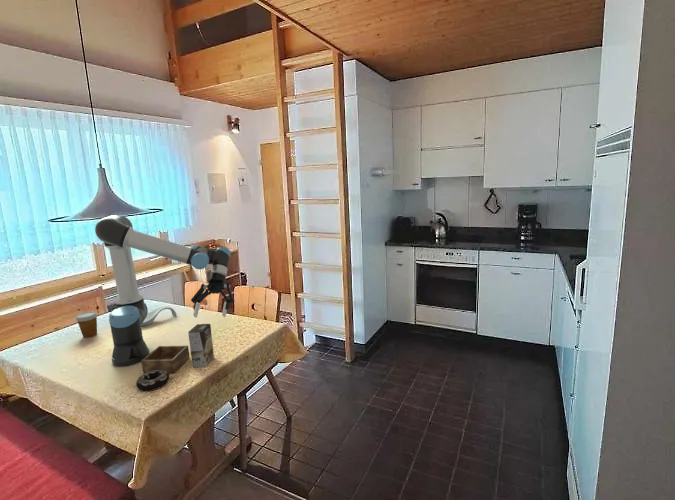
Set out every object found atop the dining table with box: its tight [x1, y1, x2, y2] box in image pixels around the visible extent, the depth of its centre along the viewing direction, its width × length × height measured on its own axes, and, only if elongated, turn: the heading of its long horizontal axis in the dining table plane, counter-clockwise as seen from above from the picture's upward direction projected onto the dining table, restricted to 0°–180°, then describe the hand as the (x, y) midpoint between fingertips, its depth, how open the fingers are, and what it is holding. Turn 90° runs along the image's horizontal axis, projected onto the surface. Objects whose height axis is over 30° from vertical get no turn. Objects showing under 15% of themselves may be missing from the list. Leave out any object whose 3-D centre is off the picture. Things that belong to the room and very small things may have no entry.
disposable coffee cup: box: [75, 311, 98, 339], centre depth 195 cm, size 10×10×12 cm
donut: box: [135, 370, 170, 392], centre depth 144 cm, size 12×12×4 cm
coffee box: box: [187, 323, 215, 368], centre depth 160 cm, size 9×6×16 cm
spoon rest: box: [141, 305, 177, 327], centre depth 213 cm, size 24×12×7 cm, turn 139°
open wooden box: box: [141, 345, 191, 375], centre depth 159 cm, size 14×14×6 cm
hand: (209, 316), depth 168 cm, fingers open, 13 cm apart
